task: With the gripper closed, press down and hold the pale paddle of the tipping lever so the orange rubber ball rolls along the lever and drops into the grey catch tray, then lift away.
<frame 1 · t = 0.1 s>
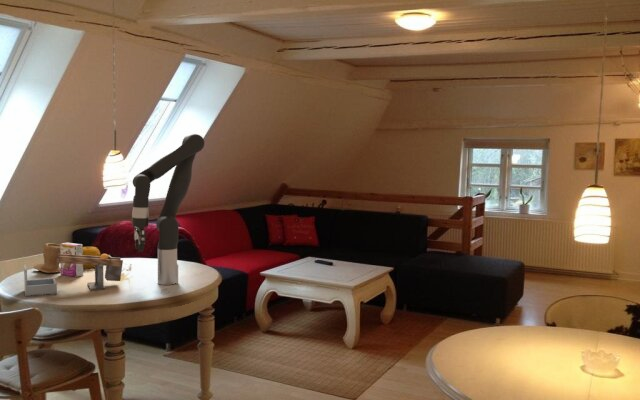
hand: (139, 250, 280), 17 cm above the table, tool pointing down, fingers open, 8 cm apart
brown top hat: (50, 272, 308), on the table
lever: (88, 265, 277), point 10 cm above the table, hinge at -8.0°, touching ball
lever stand: (99, 286, 277), on the table
yellow pumpkin: (88, 267, 320), on the table
ball: (104, 257, 277), point 14 cm above the table, tilted 6°, touching lever
grey catch tray: (40, 292, 265), on the table
candy bar box: (71, 275, 300), on the table
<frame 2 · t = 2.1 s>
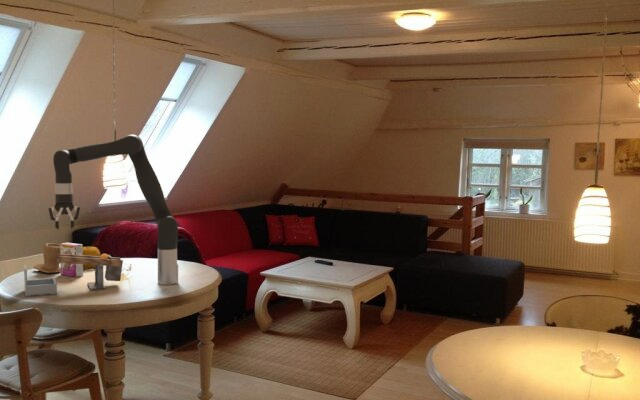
hand: (64, 228, 275), 27 cm above the table, tool pointing down, fingers open, 5 cm apart
nothing on the table moved.
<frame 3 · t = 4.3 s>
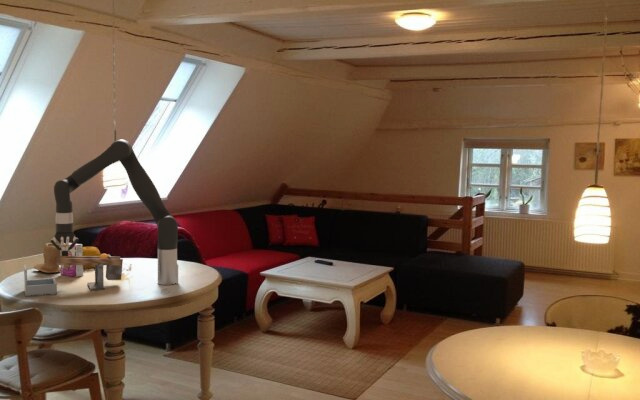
hand: (64, 258, 276), 13 cm above the table, tool pointing down, fingers closed
lever: (88, 265, 277), point 10 cm above the table, hinge at -4.8°, touching ball, gripper
everything else where it was.
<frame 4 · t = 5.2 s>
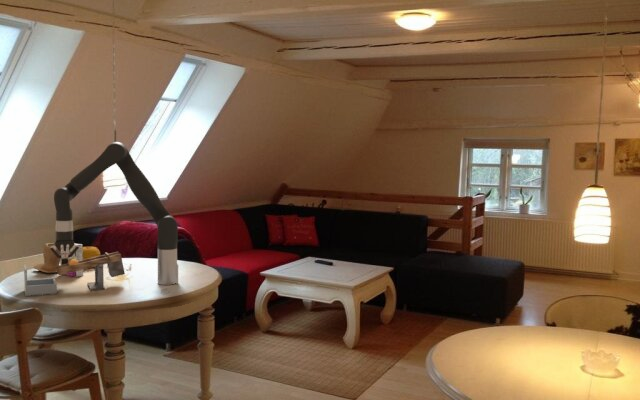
hand: (64, 266, 276), 10 cm above the table, tool pointing down, fingers closed
lever: (89, 267, 278), point 9 cm above the table, hinge at 10.3°, touching ball, gripper
ball: (73, 263, 271), point 12 cm above the table, tilted 16°, touching lever
everything else where it was.
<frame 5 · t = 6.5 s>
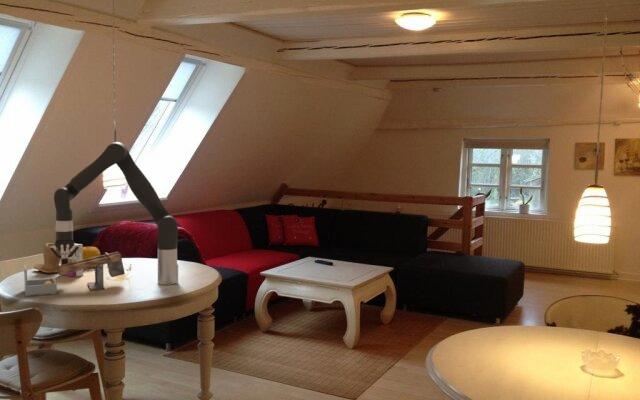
hand: (64, 266, 276), 10 cm above the table, tool pointing down, fingers closed
lever: (89, 267, 278), point 9 cm above the table, hinge at 10.3°, touching gripper
ball: (48, 285, 266), point 3 cm above the table, touching grey catch tray
everything else where it was.
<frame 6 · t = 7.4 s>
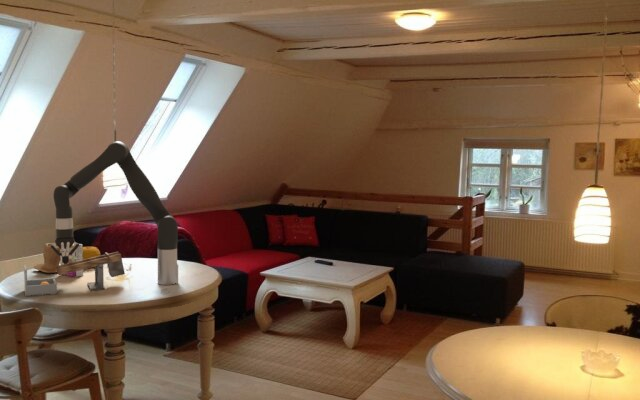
hand: (65, 263, 277), 11 cm above the table, tool pointing down, fingers closed
lever: (89, 267, 278), point 9 cm above the table, hinge at 10.3°
ball: (44, 286, 266), point 3 cm above the table, tilted 41°, touching grey catch tray
everything else where it was.
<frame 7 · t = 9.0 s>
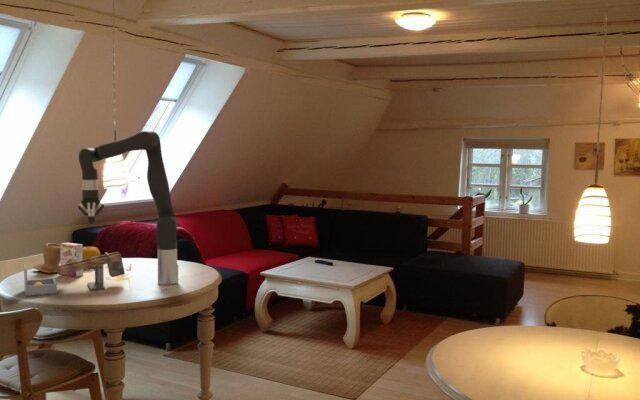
hand: (91, 223, 289), 28 cm above the table, tool pointing down, fingers closed
ball: (38, 286, 264), point 3 cm above the table, tilted 119°, touching grey catch tray
everything else where it was.
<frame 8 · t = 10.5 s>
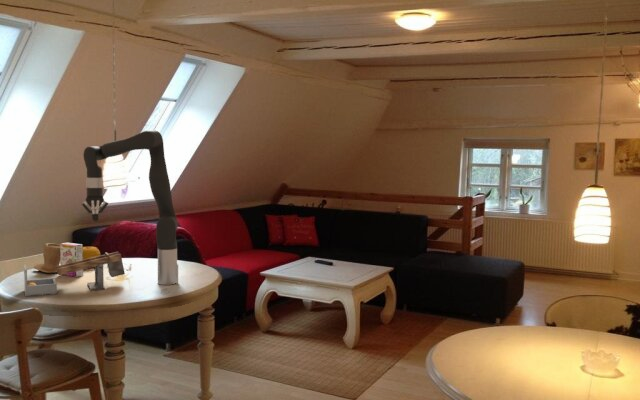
hand: (95, 221, 292), 29 cm above the table, tool pointing down, fingers closed
ball: (32, 287, 263), point 3 cm above the table, tilted 169°, touching grey catch tray
everything else where it was.
at the end: ball inside the target area on the grey catch tray (3.5 cm from its centre), point 2.6 cm above the grey catch tray's base; ball touching grey catch tray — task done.
